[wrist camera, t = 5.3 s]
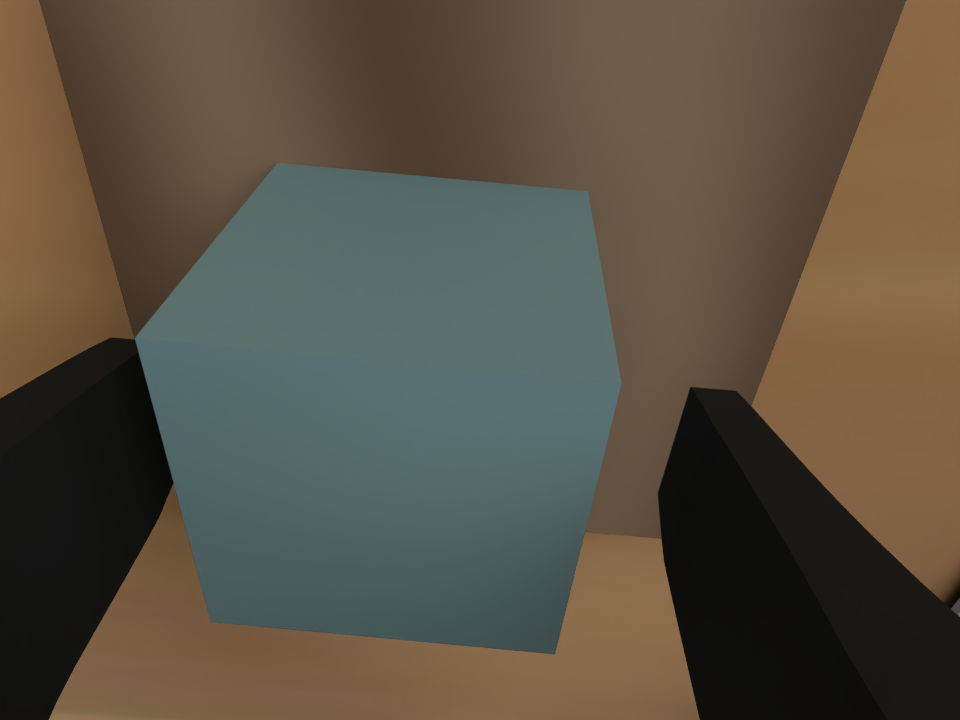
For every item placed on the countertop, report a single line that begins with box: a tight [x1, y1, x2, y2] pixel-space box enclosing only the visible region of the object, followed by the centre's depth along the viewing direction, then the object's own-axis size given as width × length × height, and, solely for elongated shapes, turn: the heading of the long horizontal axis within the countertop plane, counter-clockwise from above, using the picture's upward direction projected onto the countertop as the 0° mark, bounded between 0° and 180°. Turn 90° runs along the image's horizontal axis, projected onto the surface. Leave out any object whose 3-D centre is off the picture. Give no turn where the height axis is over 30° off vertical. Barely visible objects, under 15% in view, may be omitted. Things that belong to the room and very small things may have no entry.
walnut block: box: [39, 0, 906, 539], centre depth 14 cm, size 12×12×4 cm
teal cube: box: [135, 163, 621, 654], centre depth 11 cm, size 5×5×5 cm
